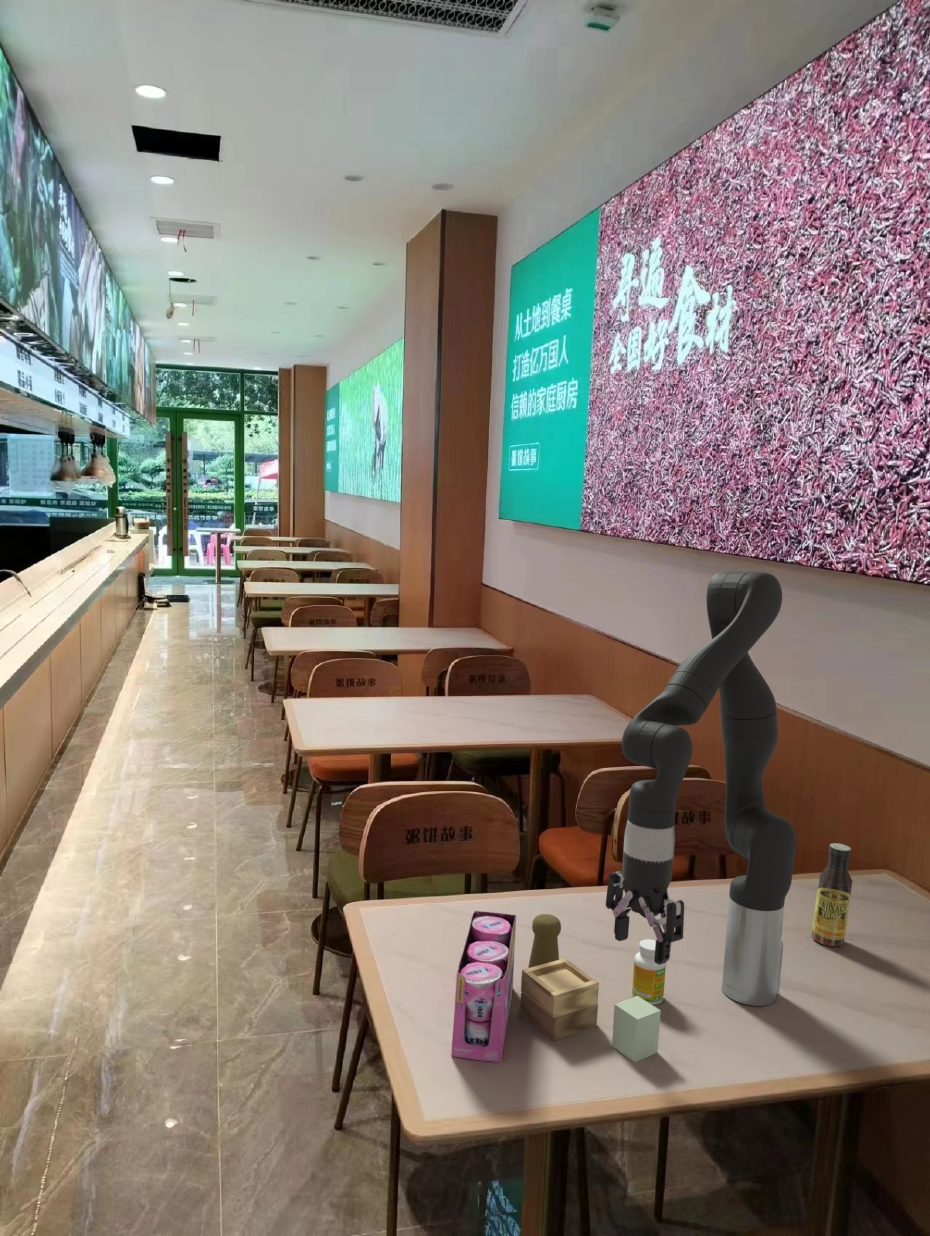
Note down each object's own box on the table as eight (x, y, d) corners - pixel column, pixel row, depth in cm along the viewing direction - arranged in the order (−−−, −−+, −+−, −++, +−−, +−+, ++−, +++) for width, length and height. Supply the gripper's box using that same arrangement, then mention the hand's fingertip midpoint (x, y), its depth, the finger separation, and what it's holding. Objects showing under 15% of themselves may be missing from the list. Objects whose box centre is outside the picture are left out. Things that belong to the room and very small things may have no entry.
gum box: (501, 1069, 136) (505, 984, 135) (448, 1063, 137) (452, 978, 136) (513, 987, 160) (517, 914, 158) (468, 983, 161) (472, 909, 159)
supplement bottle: (656, 1009, 155) (660, 955, 154) (627, 999, 158) (630, 946, 156) (667, 995, 159) (671, 943, 158) (638, 986, 162) (642, 934, 161)
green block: (634, 1036, 146) (637, 995, 146) (657, 1052, 142) (660, 1010, 142) (611, 1046, 144) (614, 1004, 143) (634, 1062, 140) (637, 1019, 139)
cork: (558, 986, 161) (562, 926, 160) (524, 981, 162) (528, 922, 161) (562, 969, 167) (565, 912, 166) (529, 964, 168) (532, 908, 167)
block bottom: (561, 1001, 157) (562, 979, 156) (596, 1026, 149) (598, 1003, 149) (519, 1015, 152) (520, 992, 151) (554, 1042, 144) (555, 1019, 144)
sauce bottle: (810, 944, 181) (819, 848, 179) (811, 931, 187) (820, 838, 185) (846, 951, 179) (855, 854, 177) (845, 938, 185) (855, 843, 182)
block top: (564, 979, 156) (565, 958, 156) (597, 1004, 149) (598, 982, 148) (520, 991, 152) (522, 969, 151) (553, 1018, 144) (554, 995, 144)
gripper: (701, 862, 136) (692, 965, 137) (633, 831, 147) (625, 927, 149) (665, 871, 131) (656, 977, 133) (598, 838, 143) (591, 937, 145)
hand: (640, 950), depth 141 cm, fingers open, 8 cm apart
